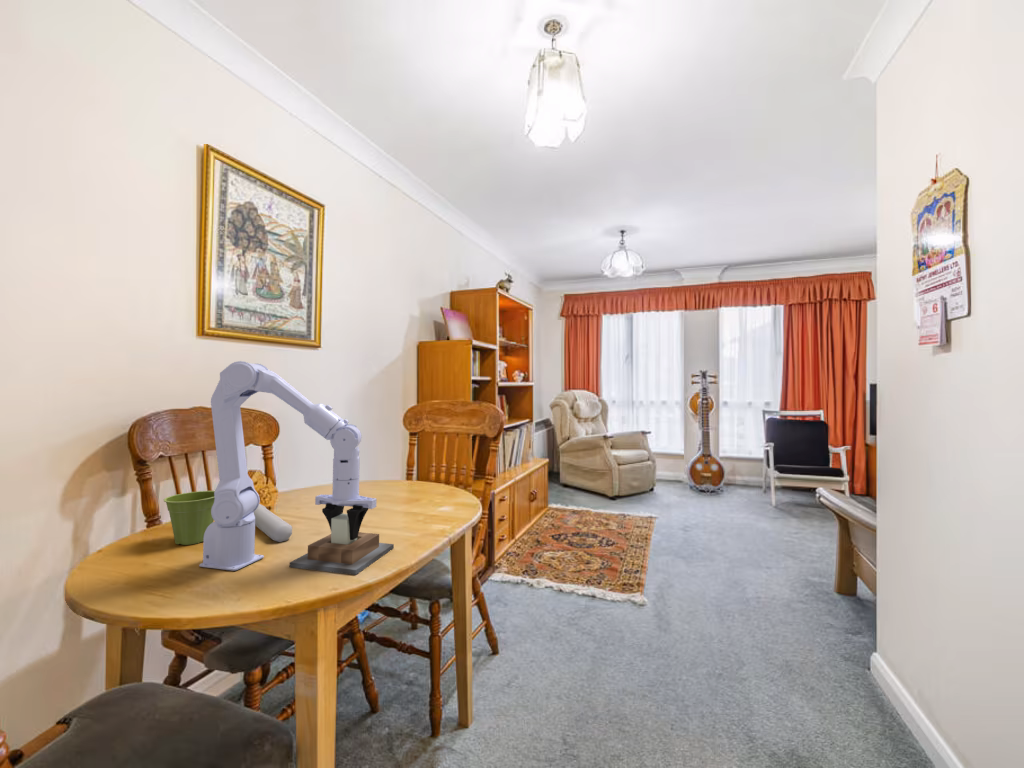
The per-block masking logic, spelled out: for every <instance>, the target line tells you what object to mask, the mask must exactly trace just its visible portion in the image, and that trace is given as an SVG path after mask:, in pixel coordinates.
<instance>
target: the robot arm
mask: <svg viewBox="0 0 1024 768" xmlns="http://www.w3.org/2000/svg"><path fill="white" fill-rule="evenodd" d="M259 392H260V393H267V394H272V395H274V396H275V397H277V398H278V399H279V400H281V401H283V403H285V404H287V405H289V407H291V408H293V409H294V410H296V411H297V412H299V413H301V415H303V416H302V417H303V421H304V424H305V425H307V426H308V427H309V428H310V429H312V430H313V431H314V432H316V433H317V434H318V435H320V436H321V437H322V438H324V440H326V441H329V442H330V445H331V447H332V449H333V459H332V462H333V463H332V493H331V494H319V495H318V494H317V495H316V496H315V499H314V500H315V502H314V503H315V505H318V506H319V505H325V507H323V508H322V509H321V510H322V512H321V513H322V514H323V515H324V517H325V518H326V520H327V524H328V526H329V529H330V530H331V518H334V517H336V516H338V515H340V514H344V510H345V509H344V508H345V507H351V508H349V509H346V514H347V515H348V519H349V533H350V540H354V539H356V538H358V533H359V532H360V529H361V525H362V522H363V520H364V518H365V516H366V514H367V512H368V511H369V510H374V509H375V508H376V507H377V498H375V497H369V496H365V495H364V496H363V495H360V446H359V445H360V444H361V442H362V438H363V437H362V433H361V430H360V429H359V428H358V427H357V425H354V424H352V423H349V422H350V421H349V420H348V419H347V418H345V419H344V418H342V417H341V416H340V415H338V414H337V413H336V412H334V410H332V409H334V408H333V406H331V405H330V404H326V405H325V404H324V403H313V402H312V401H311V400H310V399H308V398H307V397H306V396H305V395H303V394H302V393H301V392H300V391H299V390H297V388H295V387H294V386H293V385H291V384H290V383H289V382H288V381H286V379H285V378H283V377H281V376H280V375H279V374H278V373H276V372H275V371H274V370H271V369H269V368H267V366H266V365H263V364H261V363H250V362H246V361H242V360H239V361H234V362H232V363H230V364H229V365H228V366H226V367H225V368H224V369H223V370H221V371H220V372H219V381H218V383H217V385H216V386H215V389H214V391H213V393H212V395H211V397H210V405H211V406H210V408H211V415H212V425H213V433H214V434H213V435H214V441H215V444H214V445H215V450H216V452H215V453H216V459H217V460H216V461H217V462H216V463H217V468H218V476H219V481H218V484H217V485H216V488H215V490H214V491H215V492H214V496H215V500H214V504H213V506H212V509H211V515H212V518H213V519H214V521H213V523H211V524H210V525H209V526H208V527H207V529H206V531H205V533H204V541H202V542H203V547H202V548H203V549H202V551H203V553H202V563H200V564H199V566H198V567H201V568H207V569H217V570H223V571H224V570H226V571H233V572H234V571H239V570H240V569H242V568H245V567H247V566H249V565H251V564H253V563H255V562H258V561H259V560H262V559H263V558H264V557H265V556H264V555H263V554H256V553H255V543H256V526H255V516H254V511H255V510H256V509H257V507H258V506H259V504H261V499H260V495H259V493H258V492H257V490H256V489H255V485H254V481H253V479H252V478H251V477H250V475H249V473H248V464H247V455H246V447H245V446H246V445H245V437H244V429H243V421H242V420H243V419H242V412H241V411H242V410H241V406H242V405H243V404H244V403H245V402H246V401H247V400H248V399H249V398H250V397H251V396H253V395H255V394H257V393H259ZM348 423H349V424H348Z"/></svg>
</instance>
